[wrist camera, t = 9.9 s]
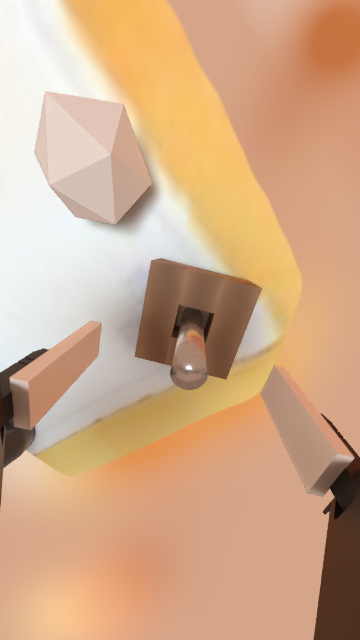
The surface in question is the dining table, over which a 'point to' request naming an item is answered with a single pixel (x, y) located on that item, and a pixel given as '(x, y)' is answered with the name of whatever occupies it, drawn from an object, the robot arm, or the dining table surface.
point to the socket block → (199, 293)
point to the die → (90, 156)
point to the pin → (190, 352)
